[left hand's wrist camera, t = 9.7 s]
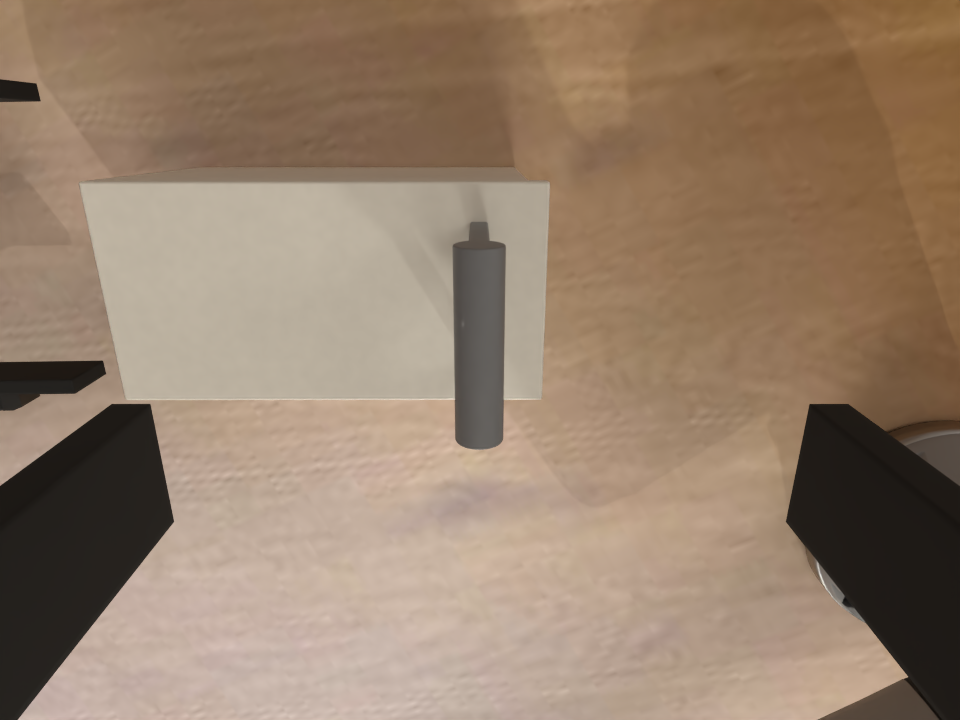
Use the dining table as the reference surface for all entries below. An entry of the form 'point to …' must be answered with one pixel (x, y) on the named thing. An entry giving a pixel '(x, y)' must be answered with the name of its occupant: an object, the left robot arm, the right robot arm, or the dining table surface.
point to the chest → (333, 173)
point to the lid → (327, 290)
